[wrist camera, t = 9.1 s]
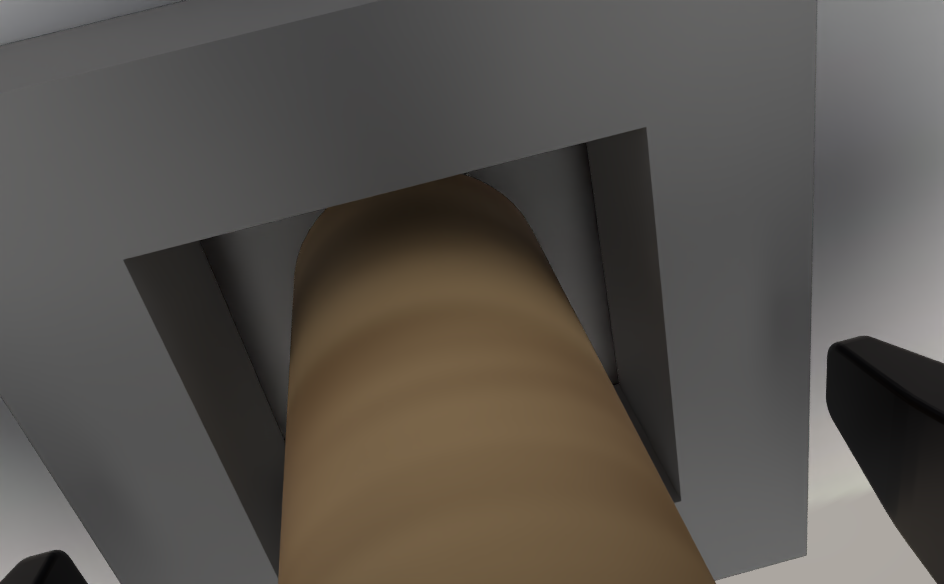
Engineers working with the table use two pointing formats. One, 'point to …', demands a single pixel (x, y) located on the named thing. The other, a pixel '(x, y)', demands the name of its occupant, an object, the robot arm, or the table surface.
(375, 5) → the block
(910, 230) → the table surface
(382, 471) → the long peg
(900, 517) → the robot arm
